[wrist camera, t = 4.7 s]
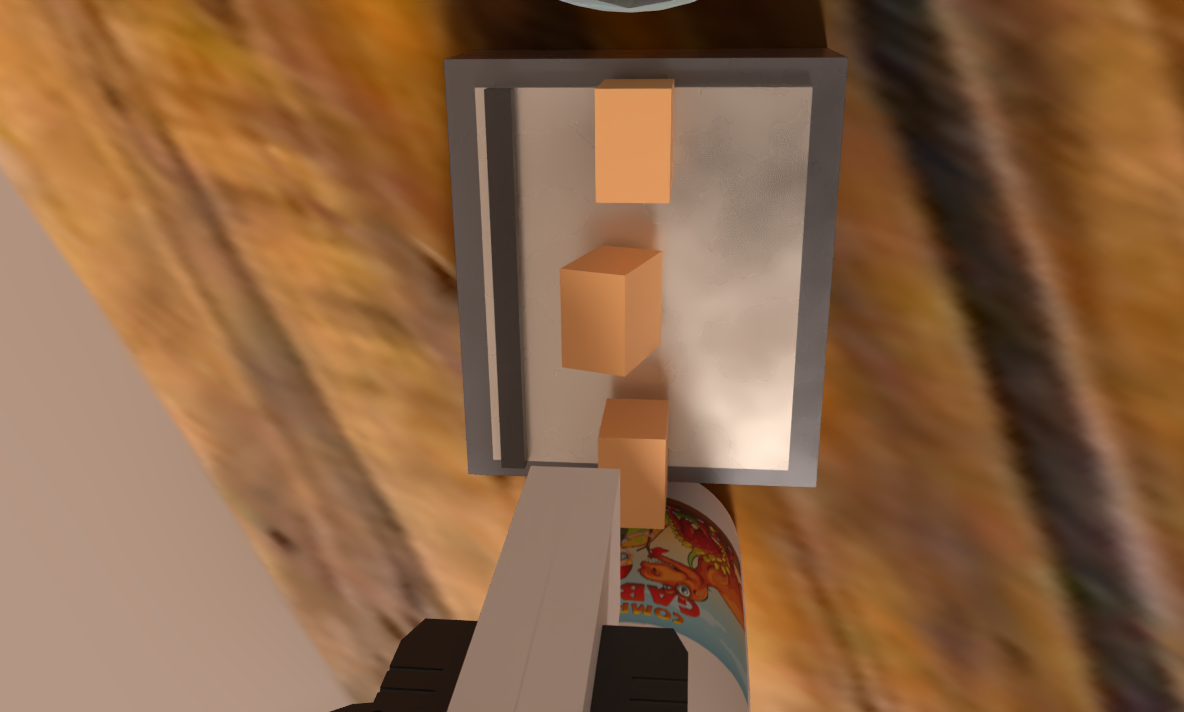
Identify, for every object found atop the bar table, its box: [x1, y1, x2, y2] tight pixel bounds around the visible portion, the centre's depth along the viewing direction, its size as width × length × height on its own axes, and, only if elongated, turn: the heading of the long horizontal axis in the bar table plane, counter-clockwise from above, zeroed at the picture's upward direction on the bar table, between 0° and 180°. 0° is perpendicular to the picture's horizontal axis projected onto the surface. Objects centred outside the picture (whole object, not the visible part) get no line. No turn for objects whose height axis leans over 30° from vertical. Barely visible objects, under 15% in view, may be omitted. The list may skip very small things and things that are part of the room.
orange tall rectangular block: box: [595, 79, 674, 203], centre depth 28 cm, size 2×3×3 cm, turn 1°
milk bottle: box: [618, 482, 750, 712], centre depth 32 cm, size 8×8×20 cm
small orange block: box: [560, 245, 662, 377], centre depth 30 cm, size 2×3×3 cm, turn 2°
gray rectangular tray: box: [444, 48, 848, 487], centre depth 34 cm, size 12×14×6 cm
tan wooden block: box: [598, 398, 669, 529], centre depth 31 cm, size 2×3×3 cm, turn 1°
